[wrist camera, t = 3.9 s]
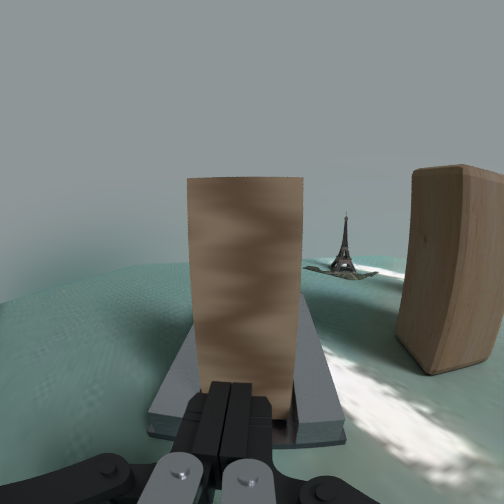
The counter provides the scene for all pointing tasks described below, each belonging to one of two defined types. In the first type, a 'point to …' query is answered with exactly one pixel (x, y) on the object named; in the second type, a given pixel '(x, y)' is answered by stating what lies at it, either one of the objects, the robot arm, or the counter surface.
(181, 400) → the chute
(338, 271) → the eiffel tower figurine
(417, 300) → the wooden block
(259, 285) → the block
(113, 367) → the counter surface
